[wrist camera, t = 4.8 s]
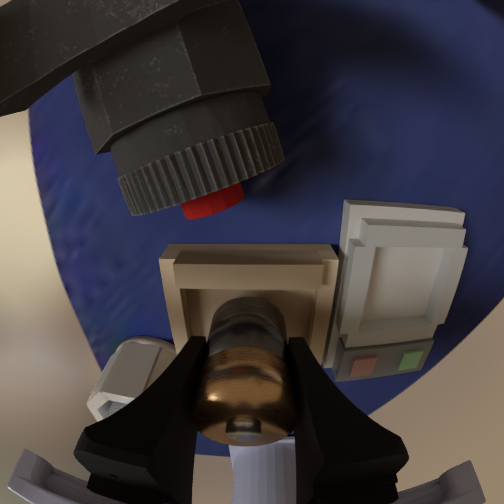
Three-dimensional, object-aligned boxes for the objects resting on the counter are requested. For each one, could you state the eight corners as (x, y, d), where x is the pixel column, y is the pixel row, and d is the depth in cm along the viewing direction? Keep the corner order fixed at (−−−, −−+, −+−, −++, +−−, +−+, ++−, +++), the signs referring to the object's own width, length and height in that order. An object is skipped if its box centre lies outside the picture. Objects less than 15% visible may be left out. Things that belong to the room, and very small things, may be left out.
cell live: (282, 354, 14) (290, 454, 9) (213, 352, 14) (196, 451, 9) (288, 297, 13) (305, 404, 7) (209, 294, 13) (182, 399, 7)
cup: (203, 398, 19) (193, 454, 14) (129, 389, 19) (110, 439, 15) (192, 339, 17) (174, 403, 12) (106, 331, 17) (74, 384, 12)
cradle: (415, 347, 17) (428, 370, 15) (321, 357, 17) (327, 384, 15) (455, 207, 13) (480, 221, 11) (343, 199, 13) (360, 213, 11)
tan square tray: (314, 354, 17) (319, 381, 15) (186, 353, 17) (179, 379, 15) (329, 244, 14) (341, 264, 12) (169, 243, 14) (155, 263, 12)
